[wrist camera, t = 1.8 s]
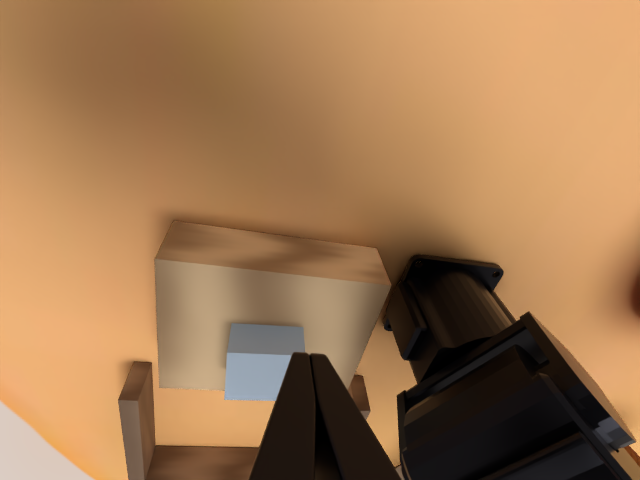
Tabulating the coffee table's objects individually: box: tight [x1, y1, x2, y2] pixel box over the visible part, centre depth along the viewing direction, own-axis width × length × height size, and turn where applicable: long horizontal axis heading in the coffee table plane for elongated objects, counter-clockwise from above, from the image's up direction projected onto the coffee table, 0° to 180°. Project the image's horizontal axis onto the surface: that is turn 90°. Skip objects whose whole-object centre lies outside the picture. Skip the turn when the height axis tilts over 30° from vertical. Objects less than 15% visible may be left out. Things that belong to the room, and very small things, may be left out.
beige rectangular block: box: [155, 221, 391, 391], centre depth 22 cm, size 12×10×4 cm
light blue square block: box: [224, 323, 305, 401], centre depth 20 cm, size 4×4×2 cm
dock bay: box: [118, 362, 370, 480], centre depth 29 cm, size 17×13×3 cm
